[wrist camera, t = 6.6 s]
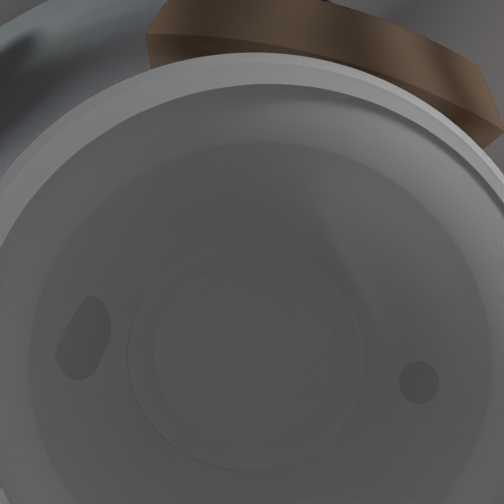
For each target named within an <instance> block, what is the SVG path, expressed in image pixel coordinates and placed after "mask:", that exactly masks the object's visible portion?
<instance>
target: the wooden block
mask: <svg viewBox="0 0 504 504" xmlns="http://www.w3.org/2000/svg"><path fill="white" fill-rule="evenodd" d="M145 35H146V41H147V47H148V53H149V59H150V64H151V69H154V68H158V67H161V66H164V65H168V64H171V63H175V62H179V61H184V60H188V59H193V58H198V57H205V56H211V55H220V54H231V53H278V54H289V55H297V56H304V57H310V58H315V59H320V60H325V61H329V62H333V63H337V64H341V65H344V66H348V67H351V68H354V69H357V70H360V71H363V72H365V73H368V74H371V75H373V76H376V77H378V78H380V79H383V80H385V81H387V82H389V83H391V84H393V85H395V86H397V87H399V88H401V89H403V90H405V91H407V92H409V93H411V94H412V95H414V96H416V97H417V98H419V99H421V100H422V101H424V102H425V103H427V104H429V105H430V106H432V107H433V108H434V109H436V110H437V111H439V112H440V113H441V114H443V115H444V116H445V117H447V118H448V119H449V120H451V121H452V122H453V123H454V124H455V125H457V126H458V127H459V128H460V129H461V130H462V131H464V132H465V133H466V134H467V135H468V136H469V137H470V138H471V139H472V140H473V141H474V142H475V143H476V144H477V145H478V146H479V147H480V148H481V149H482V150H483V149H484V148H485V147H487V146H488V145H489V144H490V143H491V142H493V141H494V140H495V139H496V138H498V137H499V136H500V135H501V134H502V133H504V126H503V124H502V121H501V118H500V115H499V112H498V110H497V107H496V105H495V102H494V100H493V97H492V95H491V92H490V90H489V88H488V85H487V83H486V81H485V79H484V76H483V74H482V72H481V70H480V68H479V66H478V65H476V64H474V63H473V62H471V61H470V60H468V59H465V58H464V57H462V56H461V55H459V54H457V53H455V52H453V51H452V50H449V49H448V48H446V47H444V46H442V45H440V44H438V43H436V42H434V41H432V40H430V39H427V38H425V37H423V36H421V35H419V34H417V33H414V32H412V31H410V30H408V29H405V28H403V27H400V26H398V25H396V24H393V23H390V22H388V21H385V20H383V19H380V18H377V17H374V16H372V15H369V14H366V13H363V12H360V11H356V10H354V9H350V8H347V7H344V6H340V5H337V4H333V3H330V2H326V1H322V0H168V1H167V2H166V3H165V5H164V6H163V8H162V9H161V11H160V12H159V14H158V15H157V17H156V18H155V20H154V21H153V23H152V24H151V26H150V27H149V29H148V30H147V32H146V34H145Z"/></svg>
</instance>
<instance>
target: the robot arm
mask: <svg viewBox="0 0 504 504" xmlns="http://www.w3.org/2000/svg"><path fill="white" fill-rule="evenodd" d="M110 338H111V321H110V316H109V312H108V309H107V307H106V305H105V304H104V303H103V301H102V300H101V299H99V298H98V297H96V296H92V295H89V296H88V297H87V298H86V300H85V301H84V302H83V303H82V305H81V306H80V307H79V309H78V310H77V311H76V313H75V314H74V316H73V317H72V319H71V321H70V322H69V324H68V326H67V327H66V329H65V331H64V333H63V335H62V337H61V339H60V341H59V344H58V346H57V348H56V351H55V356H56V360H57V363H58V365H59V367H60V369H61V370H62V372H63V373H64V374H65V375H66V376H67V377H69V378H71V379H73V380H84V379H86V378H88V377H90V376H91V375H93V374H94V373H95V372H96V370H97V368H98V366H99V363H100V361H101V359H102V357H103V354H104V352H105V350H106V348H107V345H108V343H109V341H110ZM399 386H400V390H401V392H402V394H403V396H404V397H405V398H406V399H407V400H408V401H409V402H411V403H414V404H424V403H427V402H429V401H430V400H431V399H433V398H434V396H435V395H436V393H437V391H438V388H439V378H438V374H437V372H436V371H435V369H434V368H433V367H432V366H431V365H430V364H428V363H426V362H423V361H414V362H411V363H410V364H408V365H407V366H406V367H405V368H404V369H403V371H402V372H401V375H400V379H399Z"/></svg>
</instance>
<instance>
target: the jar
mask: <svg viewBox="0 0 504 504" xmlns="http://www.w3.org/2000/svg"><path fill="white" fill-rule="evenodd" d="M89 295H92V296H96V297H98V298H99V299H101V300H102V301H103V303H104V304H105V305H106V307H107V309H108V312H109V316H110V321H111V338H110V341H109V343H108V345H107V348H106V350H105V352H104V354H103V357H102V359H101V361H100V363H99V366H98V368H97V370H96V372H95V373H94V374H93V375H91V376H90V377H88V378H86V379H84V380H73V379H71V378H69V377H67V376H66V375H65V374H64V373H63V372H62V370H61V369H60V367H59V365H58V363H57V360H56V356H55V351H56V348H57V346H58V344H59V341H60V339H61V337H62V335H63V333H64V331H65V329H66V327H67V326H68V324H69V322H70V321H71V319H72V317H73V316H74V314H75V313H76V311H77V310H78V309H79V307H80V306H81V305H82V303H83V302H84V301H85V300H86V298H87V297H88V296H89ZM414 361H423V362H426V363H428V364H430V365H431V366H432V367H433V368H434V369H435V371H436V372H437V374H438V378H439V388H438V391H437V393H436V395H435V396H434V398H433V399H431V400H430V401H429V402H427V403H424V404H414V403H411V402H409V401H408V400H407V399H406V398H405V397H404V396H403V394H402V392H401V390H400V386H399V379H400V375H401V372H402V371H403V369H404V368H405V367H406V366H407V365H408V364H410V363H411V362H414ZM0 504H504V175H503V174H502V173H501V171H500V170H499V169H498V167H497V166H496V165H495V164H494V162H493V161H492V160H491V159H490V158H489V157H488V155H487V154H486V153H485V152H484V151H483V150H482V149H481V148H480V147H479V146H478V145H477V144H476V143H475V142H474V141H473V140H472V139H471V138H470V137H469V136H468V135H467V134H466V133H465V132H464V131H462V130H461V129H460V128H459V127H458V126H457V125H455V124H454V123H453V122H452V121H451V120H449V119H448V118H447V117H445V116H444V115H443V114H441V113H440V112H439V111H437V110H436V109H434V108H433V107H432V106H430V105H429V104H427V103H425V102H424V101H422V100H421V99H419V98H417V97H416V96H414V95H412V94H411V93H409V92H407V91H405V90H403V89H401V88H399V87H397V86H395V85H393V84H391V83H389V82H387V81H385V80H383V79H380V78H378V77H376V76H373V75H371V74H368V73H365V72H363V71H360V70H357V69H354V68H351V67H348V66H344V65H341V64H337V63H333V62H329V61H325V60H320V59H315V58H310V57H304V56H297V55H289V54H278V53H231V54H220V55H211V56H205V57H198V58H193V59H188V60H184V61H179V62H175V63H171V64H168V65H164V66H161V67H158V68H154V69H151V70H148V71H146V72H143V73H140V74H138V75H135V76H133V77H130V78H128V79H125V80H123V81H121V82H119V83H117V84H115V85H113V86H111V87H109V88H107V89H105V90H103V91H101V92H99V93H97V94H96V95H94V96H92V97H90V98H89V99H87V100H85V101H84V102H82V103H81V104H79V105H78V106H76V107H75V108H73V109H72V110H70V111H69V112H67V113H66V114H65V115H63V116H62V117H61V118H59V119H58V120H57V121H56V122H54V123H53V124H52V125H51V126H49V127H48V128H47V129H46V130H45V131H44V132H42V133H41V134H40V135H39V136H38V137H37V138H36V139H35V140H34V141H33V142H32V143H31V144H30V145H29V146H28V147H27V148H26V149H25V150H24V151H23V152H22V153H21V154H20V155H19V156H18V157H17V159H16V160H15V161H14V162H13V163H12V164H11V166H10V167H9V168H8V169H7V170H6V172H5V173H4V174H3V176H2V177H1V178H0Z"/></svg>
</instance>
